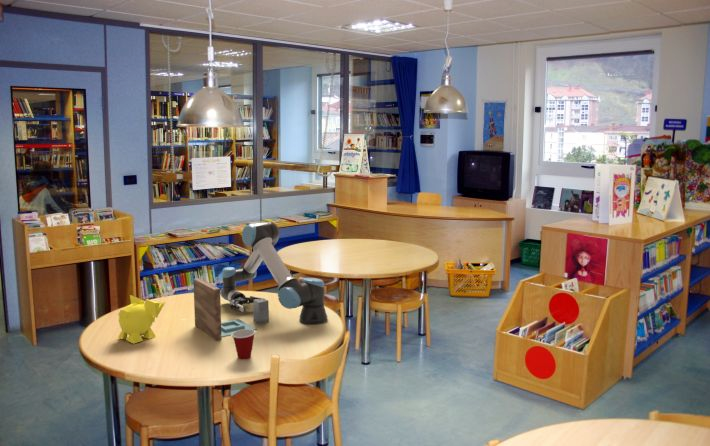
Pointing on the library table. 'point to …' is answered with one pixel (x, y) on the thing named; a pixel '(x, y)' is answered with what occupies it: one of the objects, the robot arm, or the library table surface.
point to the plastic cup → (243, 342)
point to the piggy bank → (138, 319)
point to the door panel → (207, 308)
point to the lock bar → (260, 311)
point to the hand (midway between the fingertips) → (254, 307)
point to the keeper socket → (234, 327)
